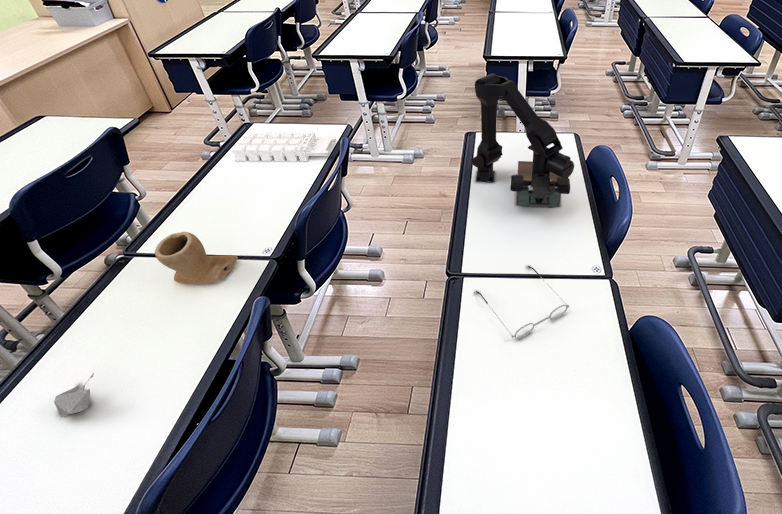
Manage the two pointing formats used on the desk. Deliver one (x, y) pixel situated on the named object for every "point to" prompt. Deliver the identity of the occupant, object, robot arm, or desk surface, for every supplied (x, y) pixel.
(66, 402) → the grey faceted ornament
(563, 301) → the eyeglasses
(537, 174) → the robot arm
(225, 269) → the clay pipe
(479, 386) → the desk surface
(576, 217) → the desk surface
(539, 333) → the desk surface
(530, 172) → the cabinet
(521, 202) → the drawer
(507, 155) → the desk surface
